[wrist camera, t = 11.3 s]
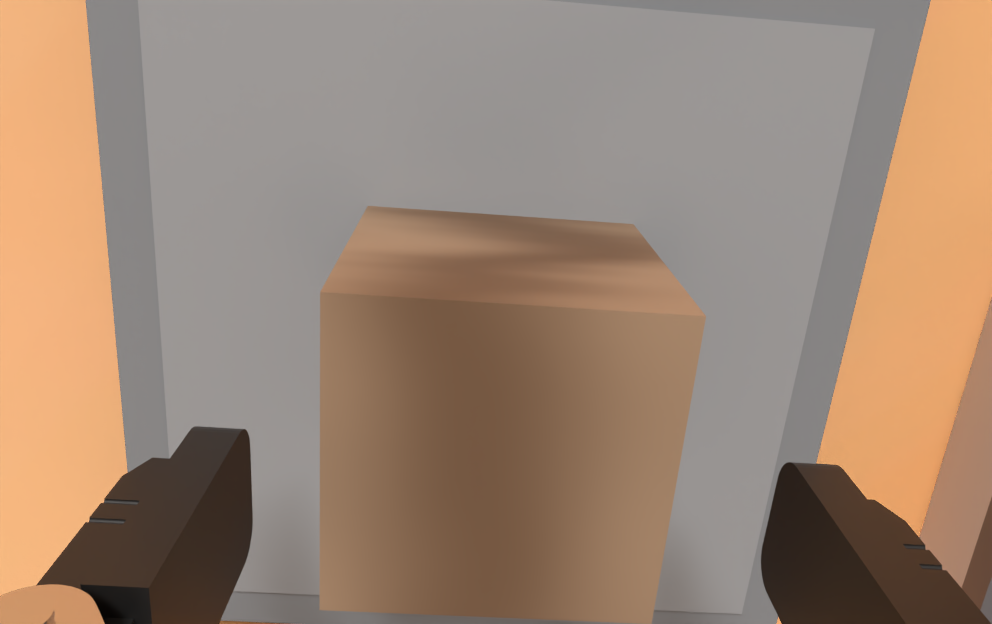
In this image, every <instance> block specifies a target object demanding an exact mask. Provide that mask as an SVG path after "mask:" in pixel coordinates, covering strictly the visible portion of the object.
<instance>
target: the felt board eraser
mask: <svg viewBox="0 0 992 624" xmlns="http://www.w3.org/2000/svg"><path fill="white" fill-rule="evenodd" d="M919 538H920V539H921V540H922V542H923V543H924V544H925V549H926V550H930V551H931V552H932V554H933V555H934V556H935V557H936V558H937V560H938V561H939V562H940V563H941V564H942V570H947V571H948V573H949V574H950V575H951V576H952V577H953V579H954V580H955V581H956V582H957V583H958V585H959V586H960V587H961V588H962V589H963V590H964V592H965V593H966V594H967V595H968V596H969V598H970V599H971V600H972V601H973V602H974V604H975V605H976V606H977V607H978V608H979V610H980V611H981V612H982V613H983V614H984V616H985V617H986V618H987V619H988V620H989V621H990V623H991V624H992V299H991V302H990V305H989V309H988V312H987V315H986V319H985V322H984V325H983V329H982V332H981V335H980V339H979V342H978V345H977V348H976V352H975V355H974V358H973V362H972V365H971V368H970V372H969V375H968V378H967V382H966V385H965V388H964V391H963V395H962V398H961V401H960V405H959V408H958V411H957V415H956V418H955V421H954V425H953V428H952V431H951V434H950V438H949V441H948V444H947V448H946V451H945V454H944V458H943V461H942V464H941V468H940V471H939V474H938V477H937V481H936V484H935V487H934V491H933V494H932V497H931V501H930V504H929V507H928V511H927V514H926V517H925V520H924V524H923V527H922V530H921V534H920V537H919Z"/></svg>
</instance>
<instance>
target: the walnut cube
mask: <svg viewBox="0 0 992 624" xmlns="http://www.w3.org/2000/svg"><path fill="white" fill-rule="evenodd" d="M705 320H706V316H705V314H704V313H703V312H702V310H701V309H700V308H699V307H698V305H697V304H696V303H695V302H694V300H693V299H692V298H691V297H690V295H689V294H688V293H687V291H686V290H685V289H684V288H683V286H682V285H681V284H680V283H679V281H678V280H677V279H676V277H675V276H674V275H673V274H672V272H671V271H670V270H669V269H668V267H667V266H666V265H665V264H664V262H663V261H662V260H661V258H660V257H659V256H658V255H657V253H656V252H655V251H654V250H653V248H652V247H651V246H650V245H649V243H648V242H647V241H646V239H645V238H644V237H643V236H642V234H641V233H640V232H639V231H638V229H637V228H636V227H635V226H634V224H625V223H610V222H596V221H581V220H567V219H552V218H538V217H523V216H509V215H494V214H480V213H465V212H451V211H436V210H422V209H407V208H393V207H378V206H367V208H366V210H365V212H364V214H363V215H362V217H361V219H360V221H359V223H358V224H357V226H356V228H355V230H354V232H353V234H352V235H351V237H350V239H349V241H348V243H347V244H346V246H345V248H344V250H343V252H342V253H341V255H340V257H339V259H338V261H337V262H336V264H335V266H334V268H333V270H332V271H331V273H330V275H329V277H328V279H327V281H326V282H325V284H324V286H323V288H322V290H321V291H320V610H328V611H352V612H376V613H400V614H423V615H447V616H471V617H495V618H519V619H543V620H567V621H591V622H614V623H638V624H651V623H652V618H653V612H654V607H655V601H656V595H657V590H658V584H659V579H660V573H661V567H662V562H663V556H664V550H665V545H666V539H667V534H668V528H669V522H670V517H671V511H672V505H673V500H674V494H675V489H676V483H677V477H678V472H679V466H680V461H681V455H682V449H683V444H684V438H685V432H686V427H687V421H688V416H689V410H690V404H691V399H692V393H693V387H694V382H695V376H696V371H697V365H698V359H699V354H700V348H701V343H702V337H703V331H704V326H705Z"/></svg>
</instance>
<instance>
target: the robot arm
mask: <svg viewBox="0 0 992 624" xmlns="http://www.w3.org/2000/svg"><path fill="white" fill-rule="evenodd" d="M252 527H253V510H252V481H251V452H250V438H249V434H248V432H247V430H246V429H235V428H218V427H201V426H194V427H193V428H191V430H190V431H189V432H188V434H187V435H186V436H185V438H184V439H183V441H182V442H181V443H180V445H179V446H178V448H177V449H176V451H175V452H174V453H173V455H172V456H171V458H151V459H149V460H147V461H146V462H144V463H143V464H141V465H139V466H138V467H136V468H135V469H133V470H131V471H130V472H128V473H127V474H125V475H123V476H122V477H121V478H120V480H119V481H118V482H117V483H116V485H115V486H114V487H113V489H112V490H111V491H110V492H109V494H108V495H107V496H106V497H105V500H104V503H101V504H100V505H99V506H98V508H97V509H96V510H95V511H94V513H93V514H92V515H91V516H90V520H89V523H87V522H86V523H85V524H84V525H83V527H82V528H81V529H80V530H79V532H78V533H77V534H76V536H75V537H74V538H73V539H72V541H71V542H70V543H69V544H68V546H67V547H66V548H65V550H64V551H63V552H62V553H61V555H60V556H59V557H58V558H57V560H56V561H55V562H54V563H53V565H52V566H51V567H50V569H49V570H48V571H47V572H46V574H45V575H44V576H43V577H42V579H41V580H40V581H39V583H38V584H37V585H36V586H31V587H26V588H22V589H18V590H15V591H11V592H9V593H6V594H3V595H1V596H0V624H219V623H220V620H221V618H222V616H223V613H224V611H225V609H226V606H227V604H228V602H229V600H230V597H231V595H232V593H233V590H234V588H235V586H236V584H237V581H238V579H239V577H240V574H241V572H242V570H243V567H244V565H245V563H246V560H247V557H248V553H249V549H250V544H251V537H252ZM761 572H762V579H763V583H764V587H765V590H766V592H767V594H768V596H769V599H770V601H771V603H772V605H773V607H774V609H775V611H776V613H777V615H778V617H779V619H780V621H781V623H782V624H991V623H990V621H989V620H988V619H987V618H986V617H985V616H984V614H983V613H982V612H981V611H980V610H979V608H978V607H977V606H976V605H975V604H974V602H973V601H972V600H971V599H970V598H969V596H968V595H967V594H966V593H965V592H964V590H963V589H962V588H961V587H960V586H959V585H958V583H957V582H956V581H955V580H954V579H953V577H952V576H951V575H950V574H949V573H948V571H947V570H942V564H941V563H940V562H939V561H938V560H937V558H936V557H935V556H934V555H933V554H932V552H931V551H930V550H926V549H925V544H924V543H923V542H922V540H921V539H920V538H919V537H918V536H917V535H916V533H915V532H914V531H913V530H912V529H911V527H910V526H909V525H908V524H907V523H906V521H904V520H903V519H901V518H900V517H898V516H897V515H896V514H894V513H893V512H891V511H890V510H888V509H887V508H885V507H884V506H882V505H881V504H880V503H878V502H877V501H875V500H867V499H866V497H865V496H864V495H863V494H862V492H861V491H860V490H859V489H858V487H857V486H856V485H855V484H854V482H853V481H852V480H851V479H850V477H849V476H848V475H847V474H846V472H845V471H844V470H843V469H842V468H841V467H840V466H838V465H829V464H812V463H795V462H788V463H786V464H784V465H783V466H782V468H781V470H780V472H779V475H778V479H777V484H776V488H775V492H774V497H773V501H772V506H771V510H770V515H769V519H768V523H767V528H766V532H765V537H764V541H763V545H762V551H761Z"/></svg>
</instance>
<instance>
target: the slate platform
mask: <svg viewBox="0 0 992 624" xmlns="http://www.w3.org/2000/svg"><path fill="white" fill-rule="evenodd" d="M930 1H931V0H86V9H87V20H88V32H89V43H90V54H91V65H92V76H93V88H94V99H95V110H96V121H97V132H98V144H99V155H100V166H101V177H102V189H103V200H104V211H105V222H106V233H107V245H108V256H109V267H110V278H111V289H112V301H113V312H114V323H115V334H116V346H117V357H118V368H119V379H120V390H121V402H122V413H123V424H124V435H125V446H126V458H127V469H128V472H130V471H131V470H133V469H135V468H136V467H138V466H139V465H141V464H143V463H144V462H146V461H147V460H149V459H151V458H171V456H172V455H173V453H174V452H175V451H176V449H177V448H178V446H179V445H180V443H181V442H182V441H183V439H184V438H185V436H186V435H187V434H188V432H189V431H190V430H191V428H193V427H194V426H201V427H218V428H235V429H246V430H247V432H248V434H249V438H250V452H251V481H252V510H253V527H252V537H251V544H250V549H249V553H248V557H247V560H246V563H245V565H244V567H243V570H242V572H241V574H240V577H239V579H238V581H237V584H236V586H235V588H234V590H233V593H232V595H231V597H230V600H229V602H228V604H227V606H226V609H225V611H224V613H223V616H222V618H221V620H220V621H242V622H265V623H289V624H638V623H614V622H591V621H567V620H543V619H519V618H495V617H471V616H447V615H423V614H400V613H376V612H352V611H328V610H320V291H321V290H322V288H323V286H324V284H325V282H326V281H327V279H328V277H329V275H330V273H331V271H332V270H333V268H334V266H335V264H336V262H337V261H338V259H339V257H340V255H341V253H342V252H343V250H344V248H345V246H346V244H347V243H348V241H349V239H350V237H351V235H352V234H353V232H354V230H355V228H356V226H357V224H358V223H359V221H360V219H361V217H362V215H363V214H364V212H365V210H366V208H367V206H378V207H393V208H407V209H422V210H436V211H451V212H465V213H480V214H494V215H509V216H523V217H538V218H552V219H567V220H581V221H596V222H610V223H625V224H634V226H635V227H636V228H637V229H638V231H639V232H640V233H641V234H642V236H643V237H644V238H645V239H646V241H647V242H648V243H649V245H650V246H651V247H652V248H653V250H654V251H655V252H656V253H657V255H658V256H659V257H660V258H661V260H662V261H663V262H664V264H665V265H666V266H667V267H668V269H669V270H670V271H671V272H672V274H673V275H674V276H675V277H676V279H677V280H678V281H679V283H680V284H681V285H682V286H683V288H684V289H685V290H686V291H687V293H688V294H689V295H690V297H691V298H692V299H693V300H694V302H695V303H696V304H697V305H698V307H699V308H700V309H701V310H702V312H703V313H704V314H705V316H706V320H705V326H704V331H703V337H702V343H701V348H700V354H699V359H698V365H697V371H696V376H695V382H694V387H693V393H692V399H691V404H690V410H689V416H688V421H687V427H686V432H685V438H684V444H683V449H682V455H681V461H680V466H679V472H678V477H677V483H676V489H675V494H674V500H673V505H672V511H671V517H670V522H669V528H668V534H667V539H666V545H665V550H664V556H663V562H662V567H661V573H660V579H659V584H658V590H657V595H656V601H655V607H654V612H653V618H652V623H651V624H776V623H777V619H778V615H777V613H776V611H775V609H774V607H773V605H772V603H771V601H770V599H769V596H768V594H767V592H766V590H765V587H764V583H763V579H762V572H761V551H762V545H763V541H764V537H765V532H766V528H767V523H768V519H769V515H770V510H771V506H772V501H773V497H774V492H775V488H776V484H777V479H778V475H779V472H780V470H781V468H782V466H783V465H784V464H786V463H788V462H795V463H812V464H816V461H817V457H818V453H819V449H820V445H821V441H822V437H823V433H824V429H825V425H826V421H827V417H828V413H829V409H830V405H831V401H832V397H833V393H834V389H835V384H836V380H837V376H838V372H839V368H840V364H841V360H842V356H843V352H844V348H845V344H846V340H847V336H848V332H849V328H850V324H851V320H852V316H853V312H854V308H855V304H856V300H857V296H858V292H859V288H860V283H861V279H862V275H863V271H864V267H865V263H866V259H867V255H868V251H869V247H870V243H871V239H872V235H873V231H874V227H875V223H876V219H877V215H878V211H879V207H880V203H881V199H882V195H883V191H884V187H885V183H886V178H887V174H888V170H889V166H890V162H891V158H892V154H893V150H894V146H895V142H896V138H897V134H898V130H899V126H900V122H901V118H902V114H903V110H904V106H905V102H906V98H907V94H908V90H909V86H910V82H911V77H912V73H913V69H914V65H915V61H916V57H917V53H918V49H919V45H920V41H921V37H922V33H923V29H924V25H925V21H926V17H927V13H928V9H929V5H930Z"/></svg>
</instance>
